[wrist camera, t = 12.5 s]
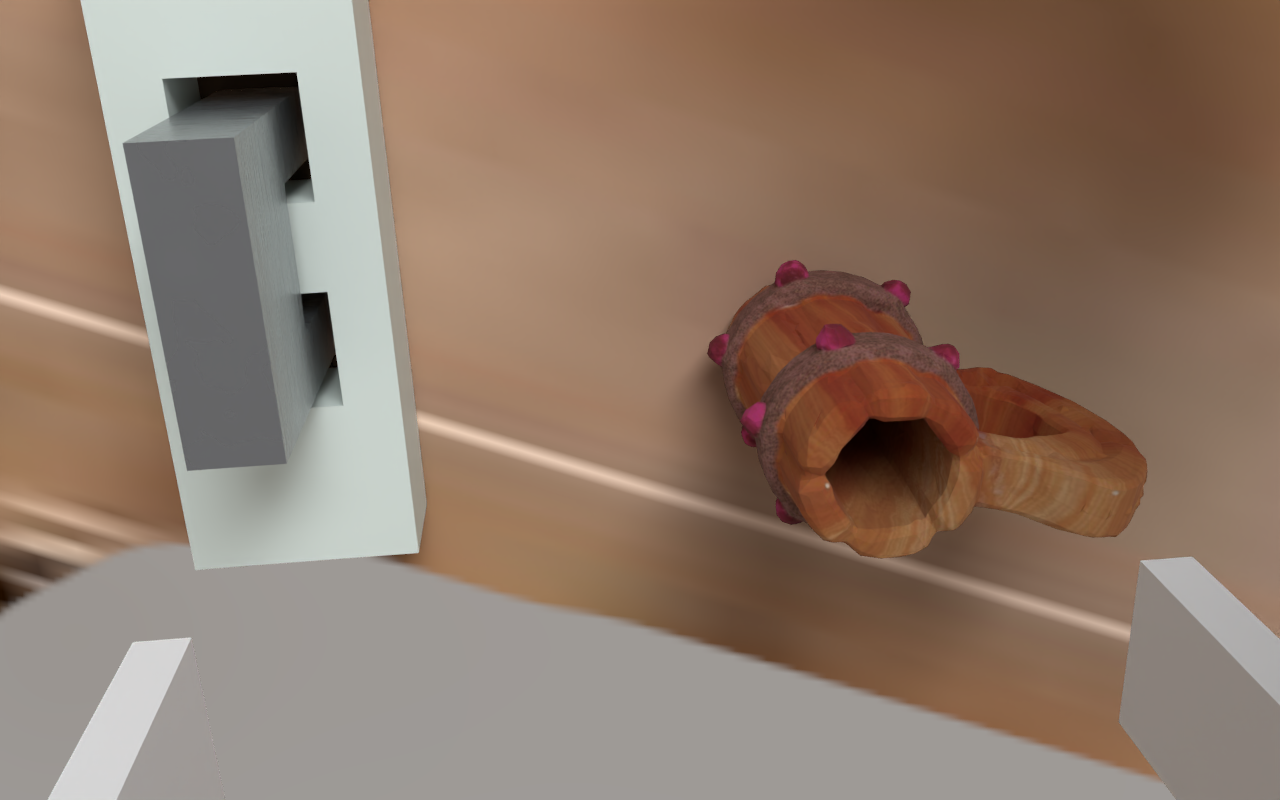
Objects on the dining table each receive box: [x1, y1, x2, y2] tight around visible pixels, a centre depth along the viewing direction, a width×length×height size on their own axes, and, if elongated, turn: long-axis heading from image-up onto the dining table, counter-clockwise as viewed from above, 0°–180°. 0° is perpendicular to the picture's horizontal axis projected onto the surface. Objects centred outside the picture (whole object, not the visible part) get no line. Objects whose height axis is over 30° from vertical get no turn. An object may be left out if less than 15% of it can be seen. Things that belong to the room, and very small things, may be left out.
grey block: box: [123, 86, 336, 471], centre depth 43 cm, size 11×3×12 cm, turn 2°
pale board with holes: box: [81, 0, 427, 570], centre depth 46 cm, size 26×9×4 cm, turn 2°
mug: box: [707, 260, 1147, 559], centre depth 46 cm, size 15×8×15 cm, turn 79°
